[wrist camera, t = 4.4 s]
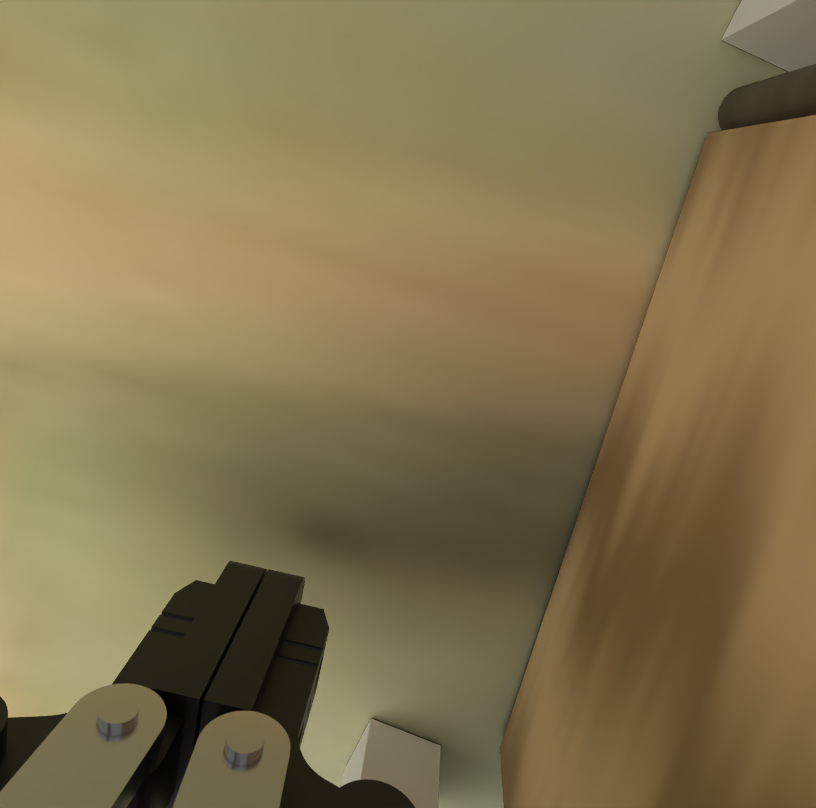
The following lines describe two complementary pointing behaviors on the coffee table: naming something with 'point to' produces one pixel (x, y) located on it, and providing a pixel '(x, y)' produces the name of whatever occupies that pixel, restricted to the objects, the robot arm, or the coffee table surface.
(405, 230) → the coffee table surface
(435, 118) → the coffee table surface
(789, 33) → the door frame
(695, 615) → the door
